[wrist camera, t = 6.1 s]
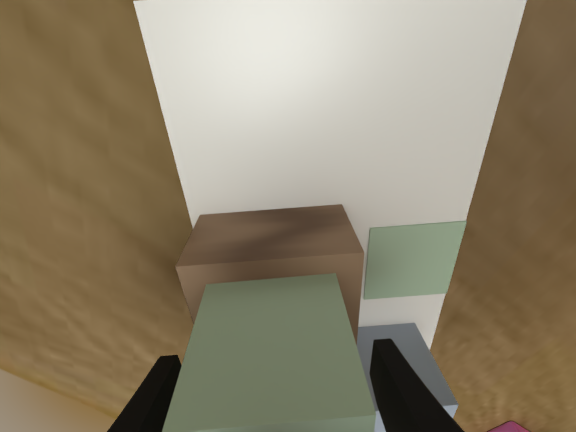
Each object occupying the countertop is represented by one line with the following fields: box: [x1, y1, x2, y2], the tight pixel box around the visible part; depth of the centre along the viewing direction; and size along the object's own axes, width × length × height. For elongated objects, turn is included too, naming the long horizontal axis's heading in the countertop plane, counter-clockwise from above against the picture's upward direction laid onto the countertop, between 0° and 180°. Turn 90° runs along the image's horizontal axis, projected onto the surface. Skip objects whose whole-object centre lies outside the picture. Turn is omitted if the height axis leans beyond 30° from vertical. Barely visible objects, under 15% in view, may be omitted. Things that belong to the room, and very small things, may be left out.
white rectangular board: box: [133, 0, 527, 350], centre depth 16 cm, size 14×25×1 cm, turn 4°
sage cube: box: [162, 273, 376, 432], centre depth 10 cm, size 5×5×5 cm
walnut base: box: [175, 204, 364, 346], centre depth 14 cm, size 7×7×4 cm
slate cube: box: [357, 323, 458, 432], centre depth 17 cm, size 5×5×5 cm
